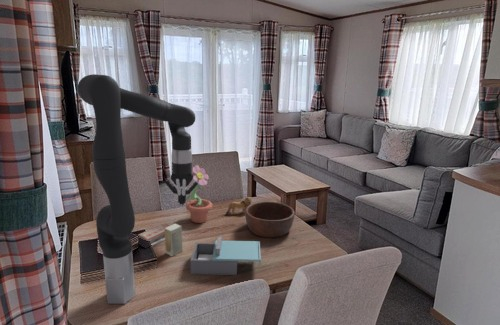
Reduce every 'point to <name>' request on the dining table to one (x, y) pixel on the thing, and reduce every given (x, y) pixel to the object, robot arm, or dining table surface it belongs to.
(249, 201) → the lion figurine
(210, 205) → the decorative flower
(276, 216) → the wooden bowl
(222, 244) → the lid
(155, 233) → the packaged product
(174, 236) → the skincare box
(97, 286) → the dining table surface
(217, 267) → the mailer box
